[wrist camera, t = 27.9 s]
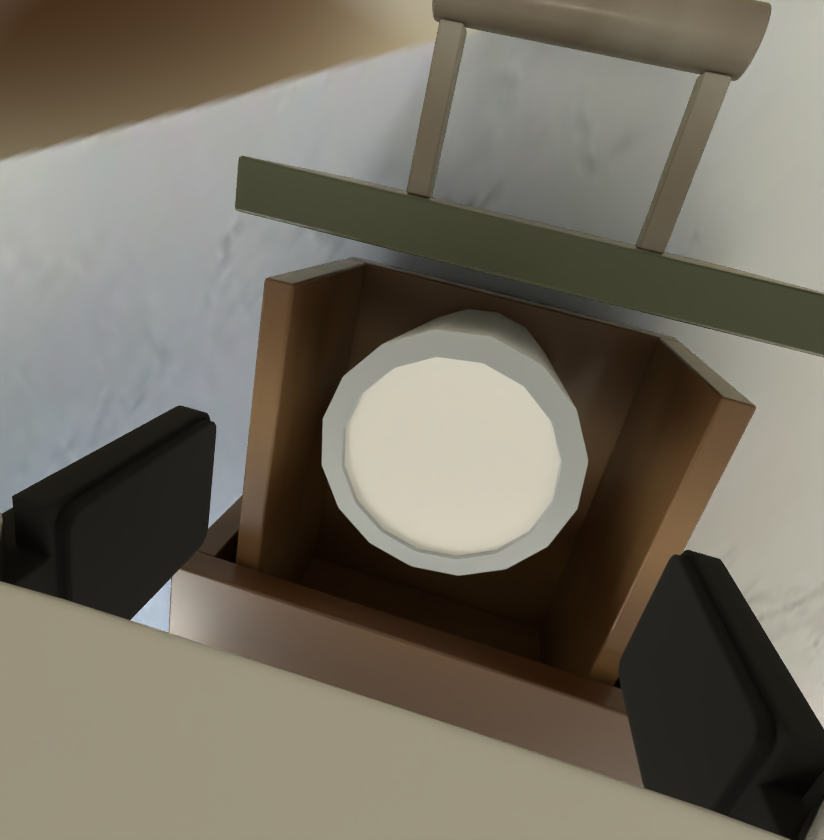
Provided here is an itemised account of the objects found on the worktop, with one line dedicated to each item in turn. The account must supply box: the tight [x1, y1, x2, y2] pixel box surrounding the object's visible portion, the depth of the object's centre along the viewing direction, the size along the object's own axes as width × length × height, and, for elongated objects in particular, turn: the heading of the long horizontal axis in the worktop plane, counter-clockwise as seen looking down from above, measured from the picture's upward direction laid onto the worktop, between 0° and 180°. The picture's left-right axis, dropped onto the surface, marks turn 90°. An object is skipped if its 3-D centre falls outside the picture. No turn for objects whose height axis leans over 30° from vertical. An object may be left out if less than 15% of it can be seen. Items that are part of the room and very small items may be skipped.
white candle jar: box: [322, 309, 588, 576], centre depth 17 cm, size 7×7×7 cm
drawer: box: [235, 0, 824, 686], centre depth 17 cm, size 22×14×8 cm, turn 167°
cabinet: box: [169, 495, 643, 788], centre depth 23 cm, size 18×15×10 cm
